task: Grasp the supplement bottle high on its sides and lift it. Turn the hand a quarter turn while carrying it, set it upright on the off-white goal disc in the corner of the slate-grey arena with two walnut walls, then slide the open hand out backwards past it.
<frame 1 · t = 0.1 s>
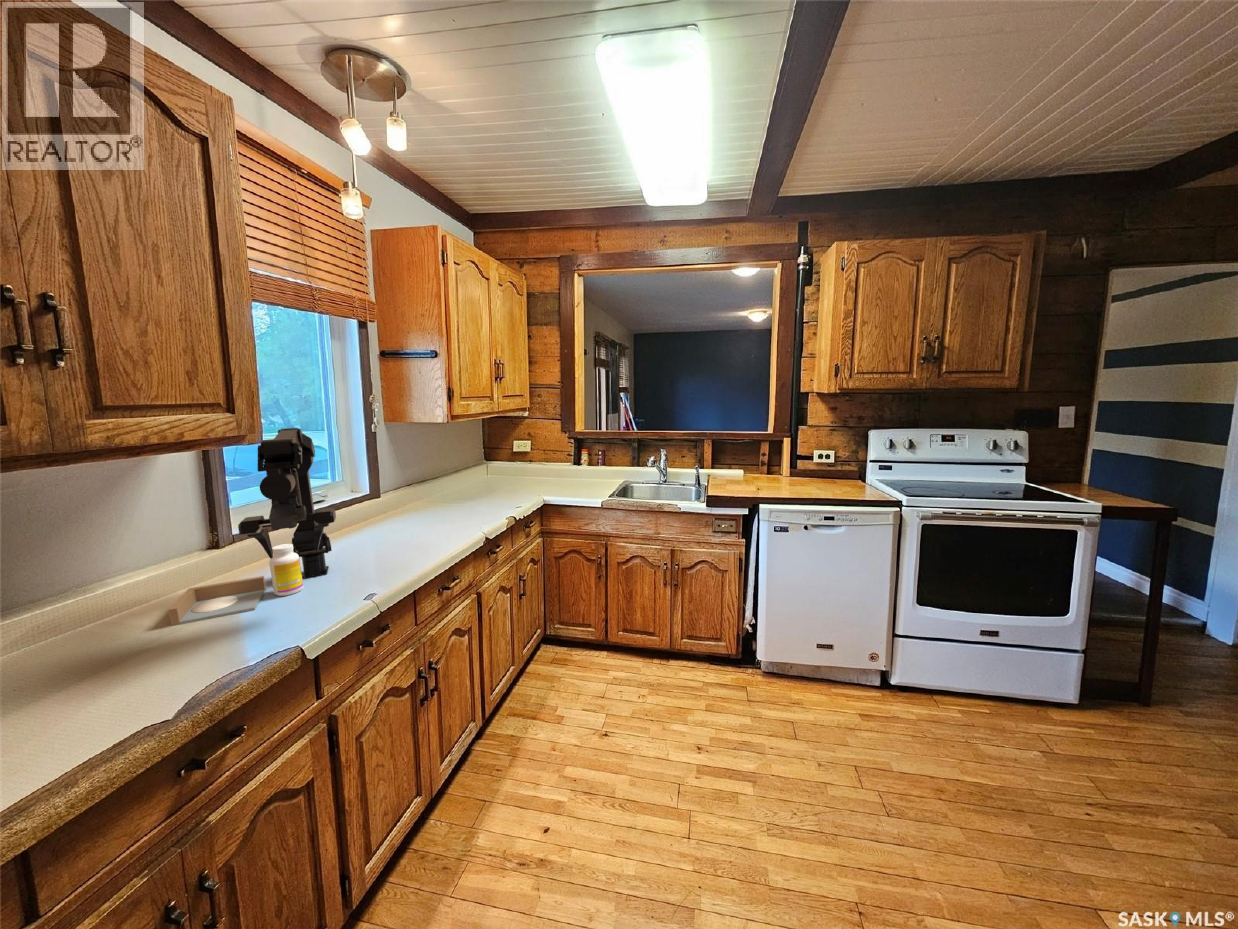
hand: (294, 554, 116), 15 cm above the counter, fingers open, 9 cm apart
arena: (222, 606, 122), on the counter
supplement bottle: (289, 592, 130), on the counter
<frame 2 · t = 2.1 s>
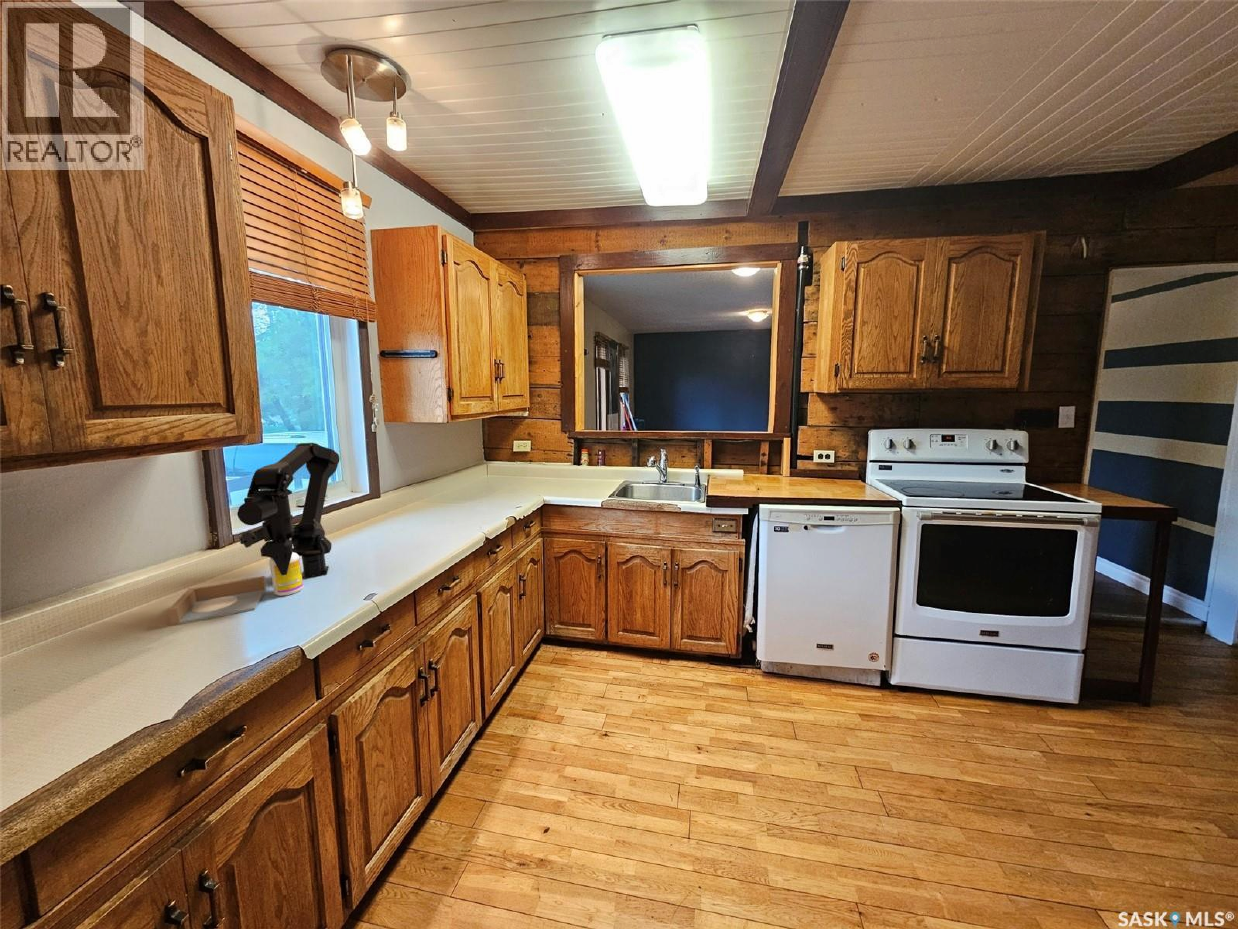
hand: (286, 570, 129), 6 cm above the counter, fingers closed on supplement bottle, 7 cm apart
supplement bottle: (289, 592, 130), on the counter, touching gripper
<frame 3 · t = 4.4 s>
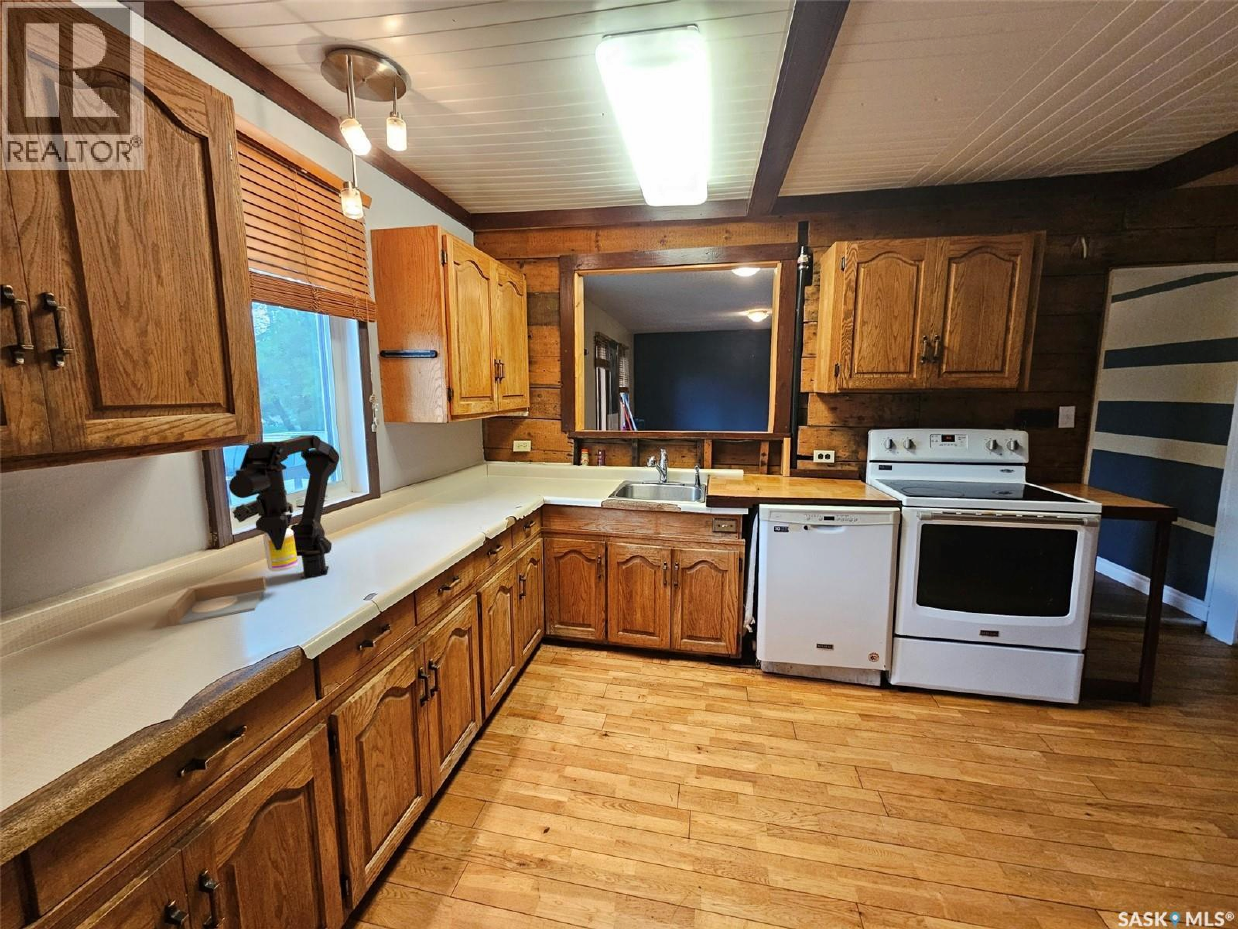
hand: (280, 546, 128), 13 cm above the counter, fingers closed on supplement bottle, 7 cm apart
supplement bottle: (283, 568, 129), point 7 cm above the counter, touching gripper
when the fingers open (8 cm above the counter, at t = 7.0 s): supplement bottle stays where it is, resting on arena.
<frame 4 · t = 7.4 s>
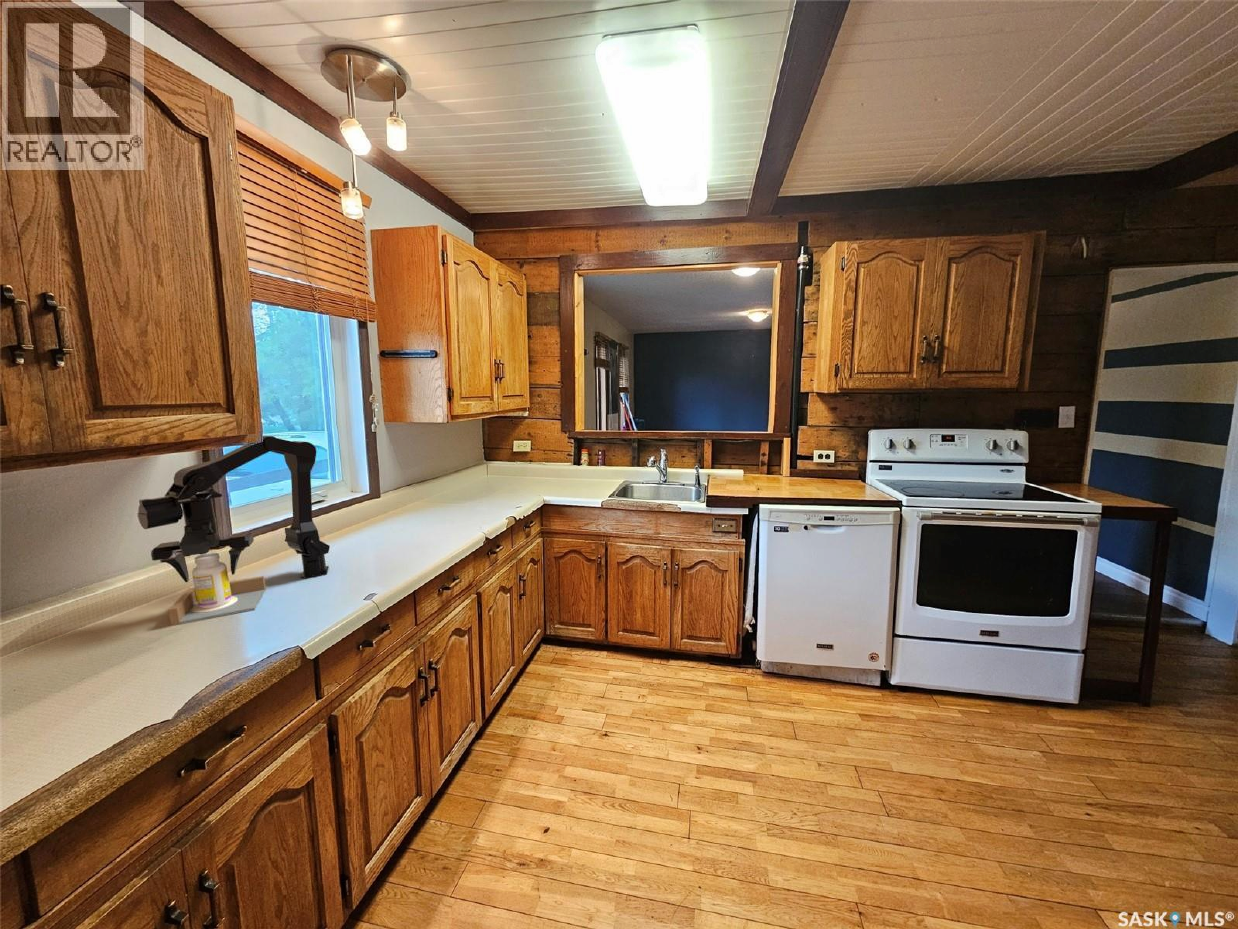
hand: (210, 577, 120), 8 cm above the counter, fingers open, 9 cm apart
supplement bottle: (215, 604, 122), point 1 cm above the counter, touching arena
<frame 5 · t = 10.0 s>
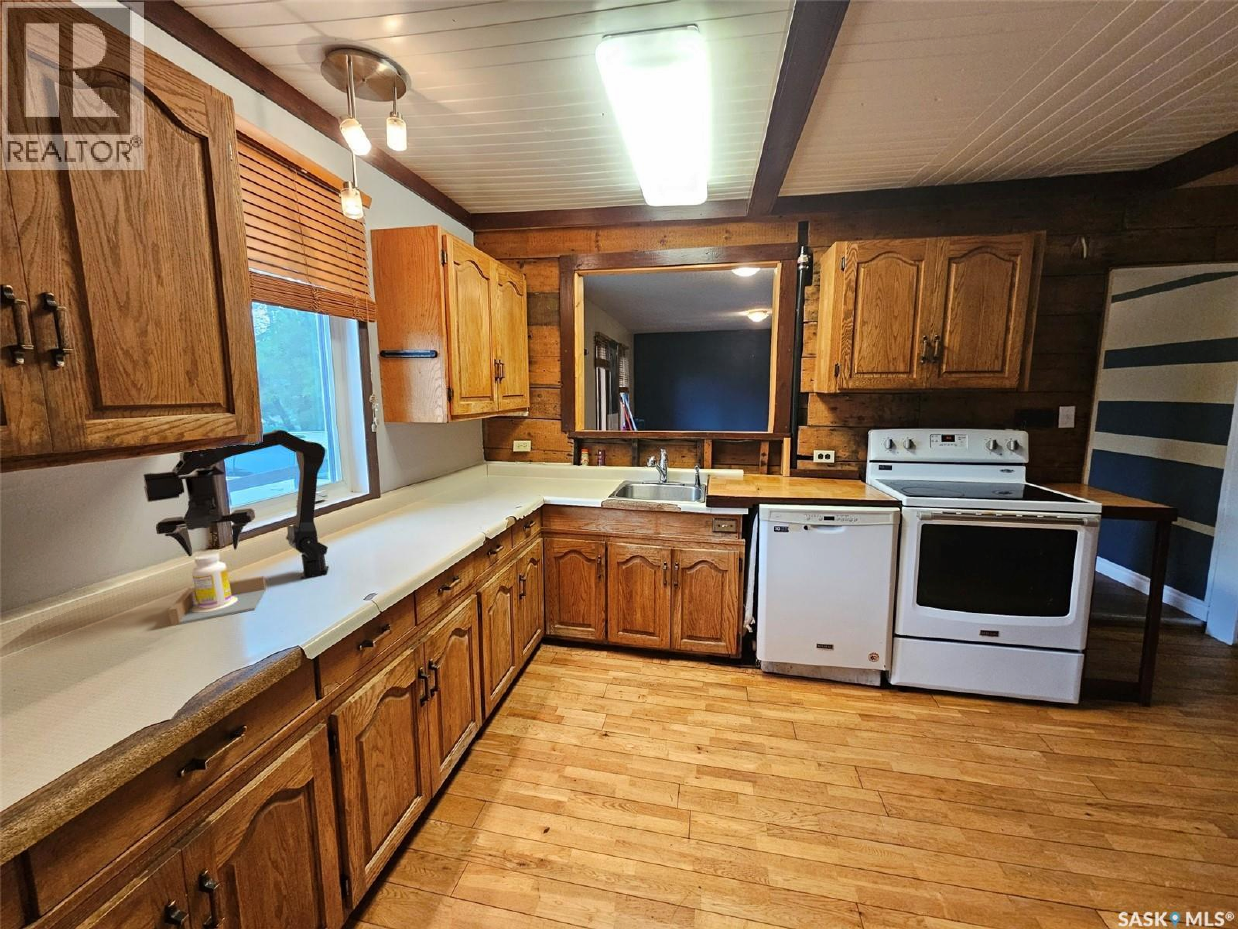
hand: (213, 552, 124), 13 cm above the counter, fingers open, 9 cm apart
nothing on the counter moved.
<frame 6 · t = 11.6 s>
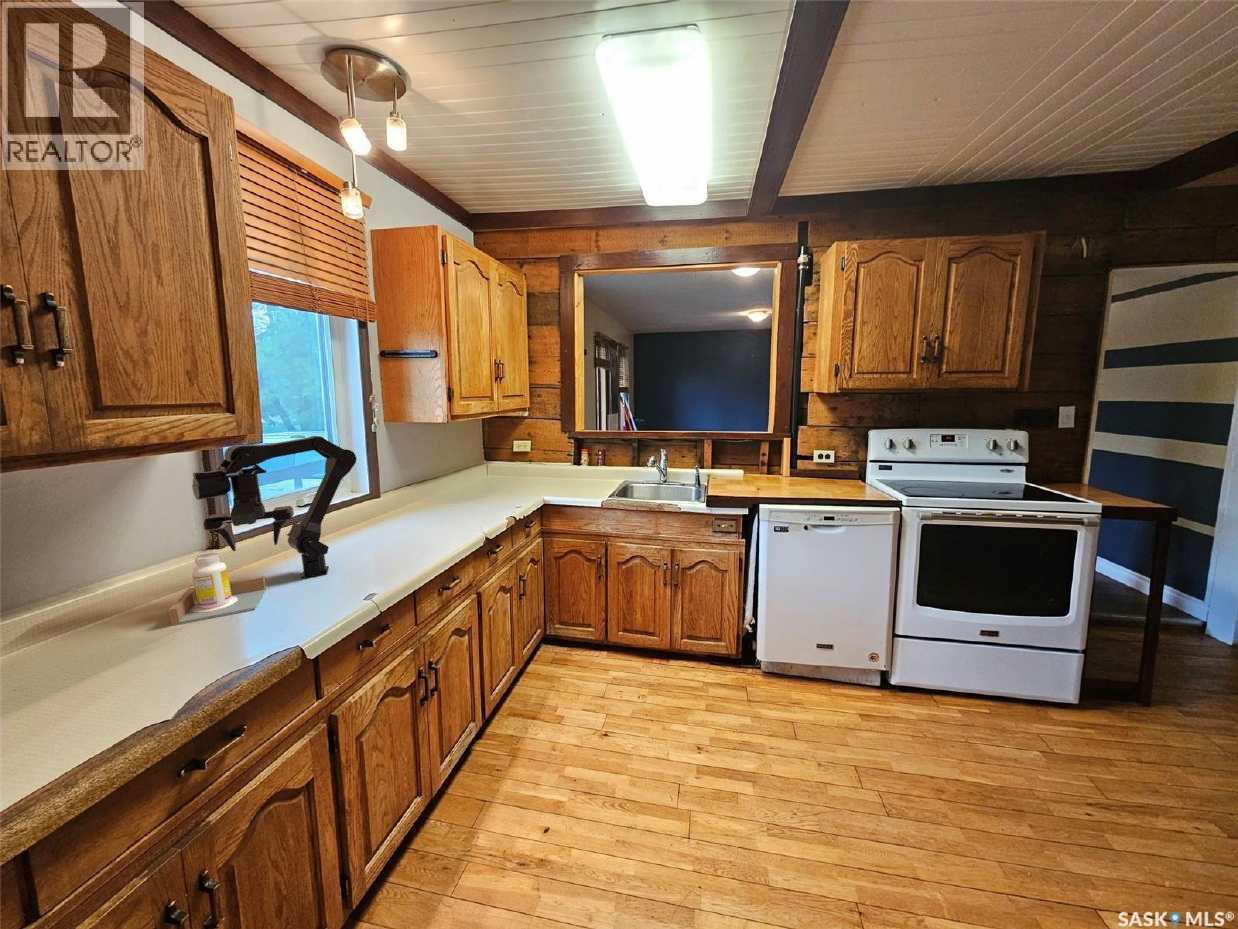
hand: (255, 547, 130), 12 cm above the counter, fingers open, 9 cm apart
nothing on the counter moved.
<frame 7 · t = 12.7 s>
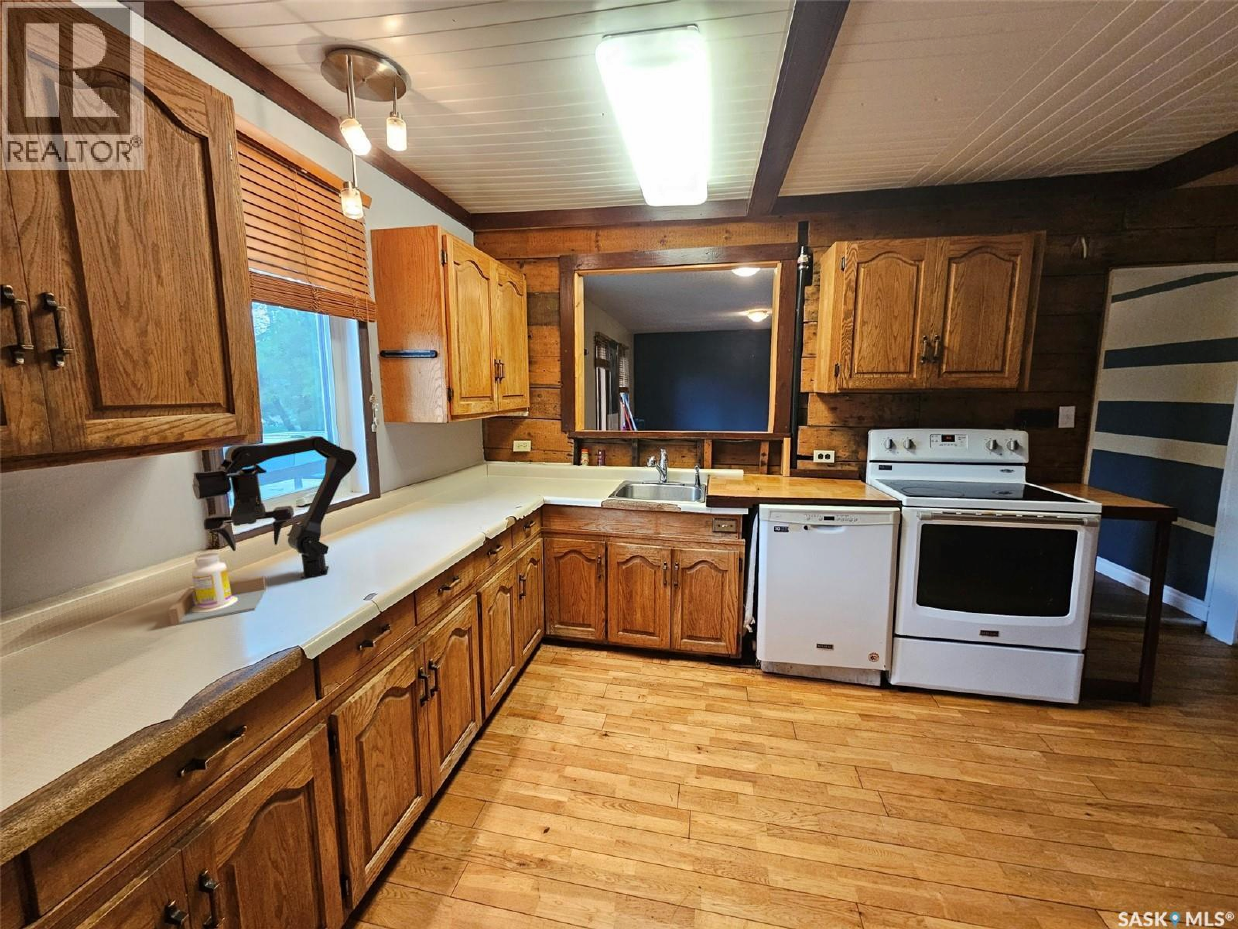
hand: (255, 547, 130), 12 cm above the counter, fingers open, 9 cm apart
nothing on the counter moved.
at the end: supplement bottle 0.1 cm from the target spot on the arena, point 0.6 cm above the arena's base; supplement bottle tilted 0°; the gripper is holding nothing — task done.
